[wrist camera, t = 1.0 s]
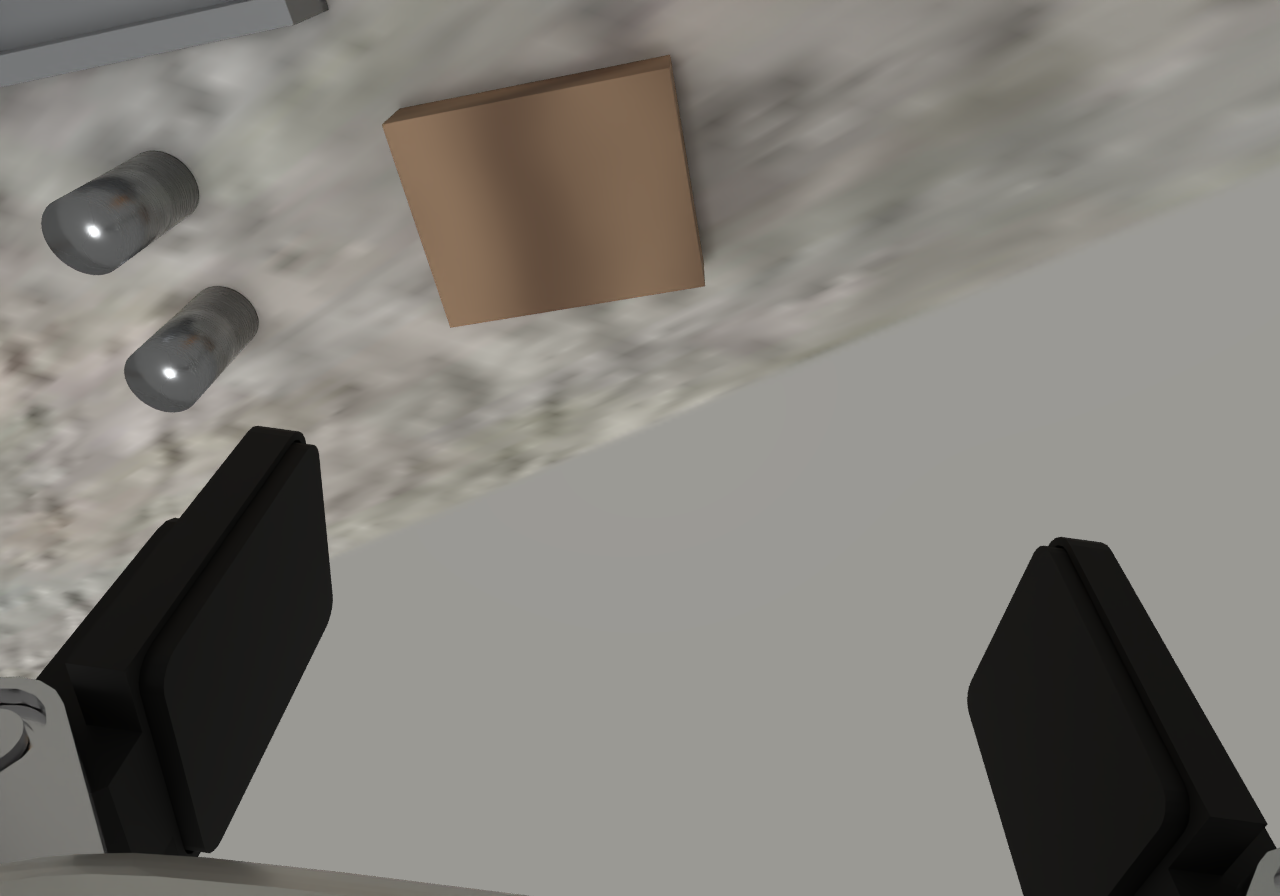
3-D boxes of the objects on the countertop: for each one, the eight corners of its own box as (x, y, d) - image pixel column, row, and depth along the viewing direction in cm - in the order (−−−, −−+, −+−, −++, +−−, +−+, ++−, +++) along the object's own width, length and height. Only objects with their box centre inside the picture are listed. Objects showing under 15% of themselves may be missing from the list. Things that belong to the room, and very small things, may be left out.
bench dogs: (178, 145, 30) (98, 191, 26) (268, 339, 34) (211, 406, 30) (115, 157, 31) (25, 205, 26) (210, 349, 35) (146, 416, 30)
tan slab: (670, 52, 28) (669, 67, 26) (703, 258, 32) (704, 286, 30) (402, 105, 30) (381, 124, 28) (464, 298, 33) (450, 327, 31)
